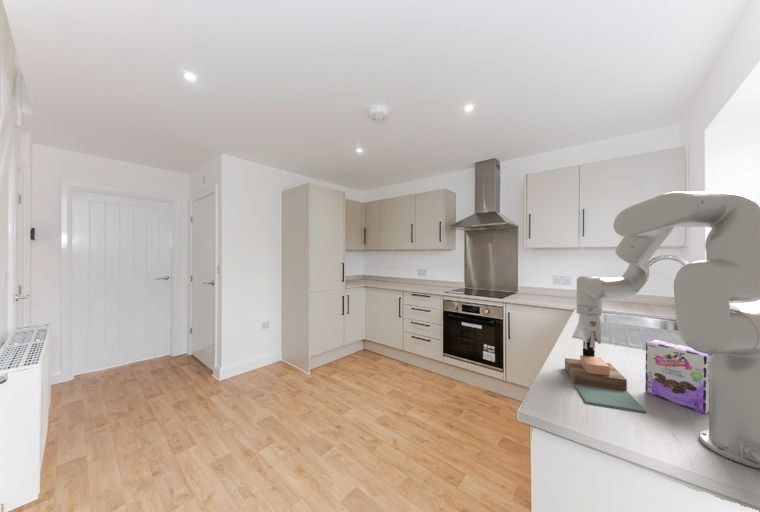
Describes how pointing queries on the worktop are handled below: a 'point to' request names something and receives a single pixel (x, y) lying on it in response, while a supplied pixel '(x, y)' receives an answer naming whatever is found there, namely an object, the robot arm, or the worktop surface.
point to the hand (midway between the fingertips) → (588, 359)
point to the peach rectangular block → (594, 365)
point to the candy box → (678, 374)
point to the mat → (609, 398)
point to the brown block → (595, 376)
